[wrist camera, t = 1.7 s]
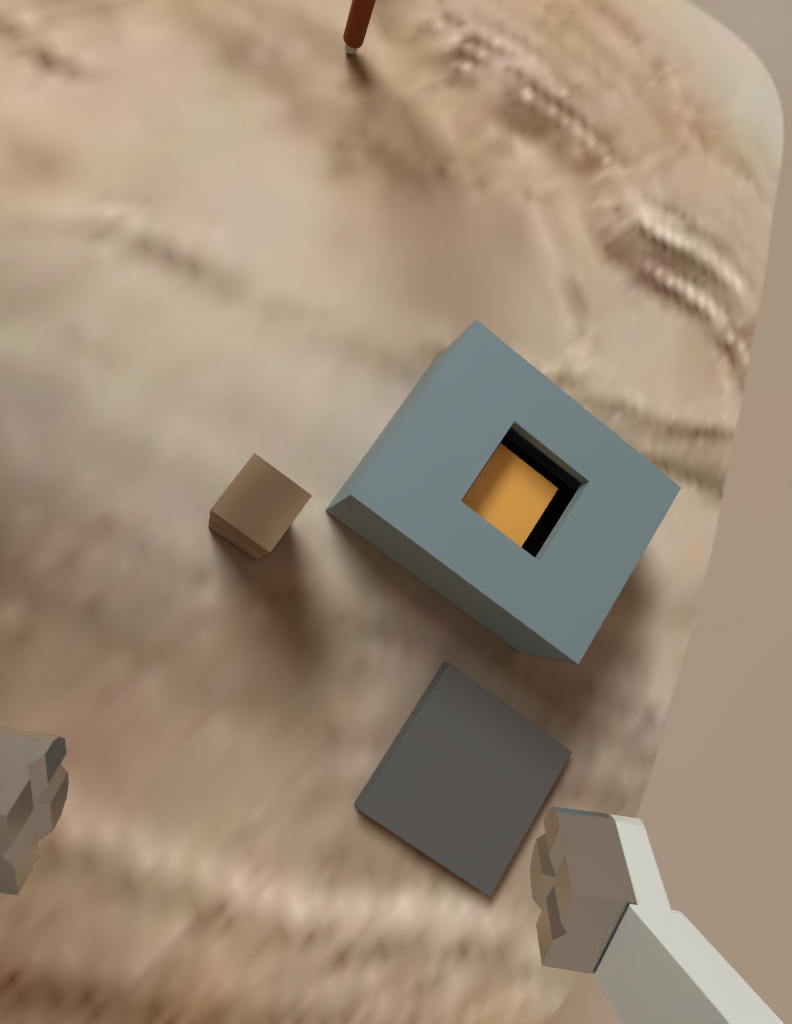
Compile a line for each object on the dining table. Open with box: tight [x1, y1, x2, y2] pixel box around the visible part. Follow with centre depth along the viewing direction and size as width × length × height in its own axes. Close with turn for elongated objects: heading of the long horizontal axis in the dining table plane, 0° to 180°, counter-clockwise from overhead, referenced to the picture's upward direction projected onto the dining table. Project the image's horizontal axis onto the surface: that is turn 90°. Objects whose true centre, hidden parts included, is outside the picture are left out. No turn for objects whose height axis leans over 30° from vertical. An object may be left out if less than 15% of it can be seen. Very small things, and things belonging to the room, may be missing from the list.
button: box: [461, 443, 558, 547], centre depth 39 cm, size 4×4×3 cm
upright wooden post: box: [208, 453, 312, 561], centre depth 34 cm, size 3×3×9 cm
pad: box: [354, 662, 572, 897], centre depth 40 cm, size 9×9×1 cm
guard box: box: [325, 320, 681, 664], centre depth 39 cm, size 14×11×7 cm
